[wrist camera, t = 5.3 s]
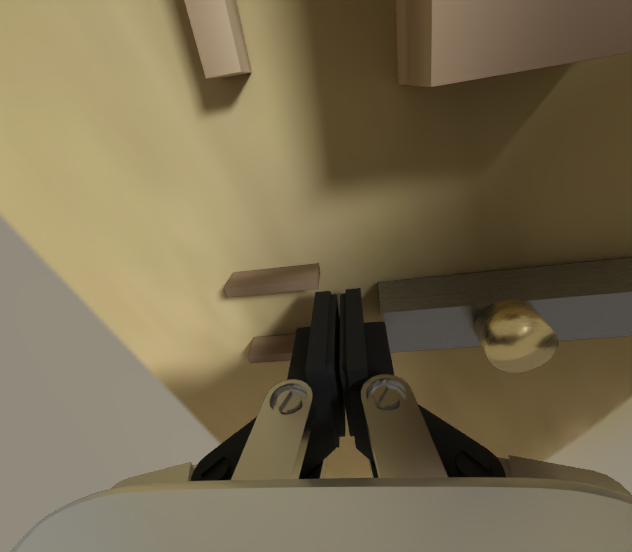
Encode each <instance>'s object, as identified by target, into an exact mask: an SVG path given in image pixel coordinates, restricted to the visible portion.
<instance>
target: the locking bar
mask: <svg viewBox="0 0 632 552" xmlns="http://www.w3.org/2000/svg"><path fill="white" fill-rule="evenodd" d="M378 291H379V303H380V316H381V322H384V321H385V326H386V331H387V337H388V343H389V349H390V352H404V351H419V350H433V349H448V348H462V347H476V346H482V348H483V350H484V352H485V354H486V356H487V358H488V360H489V361H490V363H491V364H492V365H493V366H494V367H495V368H497V369H499V370H501V371H505V372H511V373H519V372H526V371H530V370H533V369H535V368H537V367H540V366H541V365H543V364H544V363H546V362H547V361H548V360H550V359H551V357H552V356H553V355H554V354H555V352H556V350H557V347H558V341H563V340H577V339H592V338H606V337H621V336H632V257H631V258H621V259H611V260H601V261H591V262H580V263H570V264H560V265H550V266H540V267H529V268H519V269H509V270H499V271H488V272H478V273H468V274H458V275H448V276H437V277H427V278H417V279H407V280H397V281H386V282H378Z"/></svg>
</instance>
